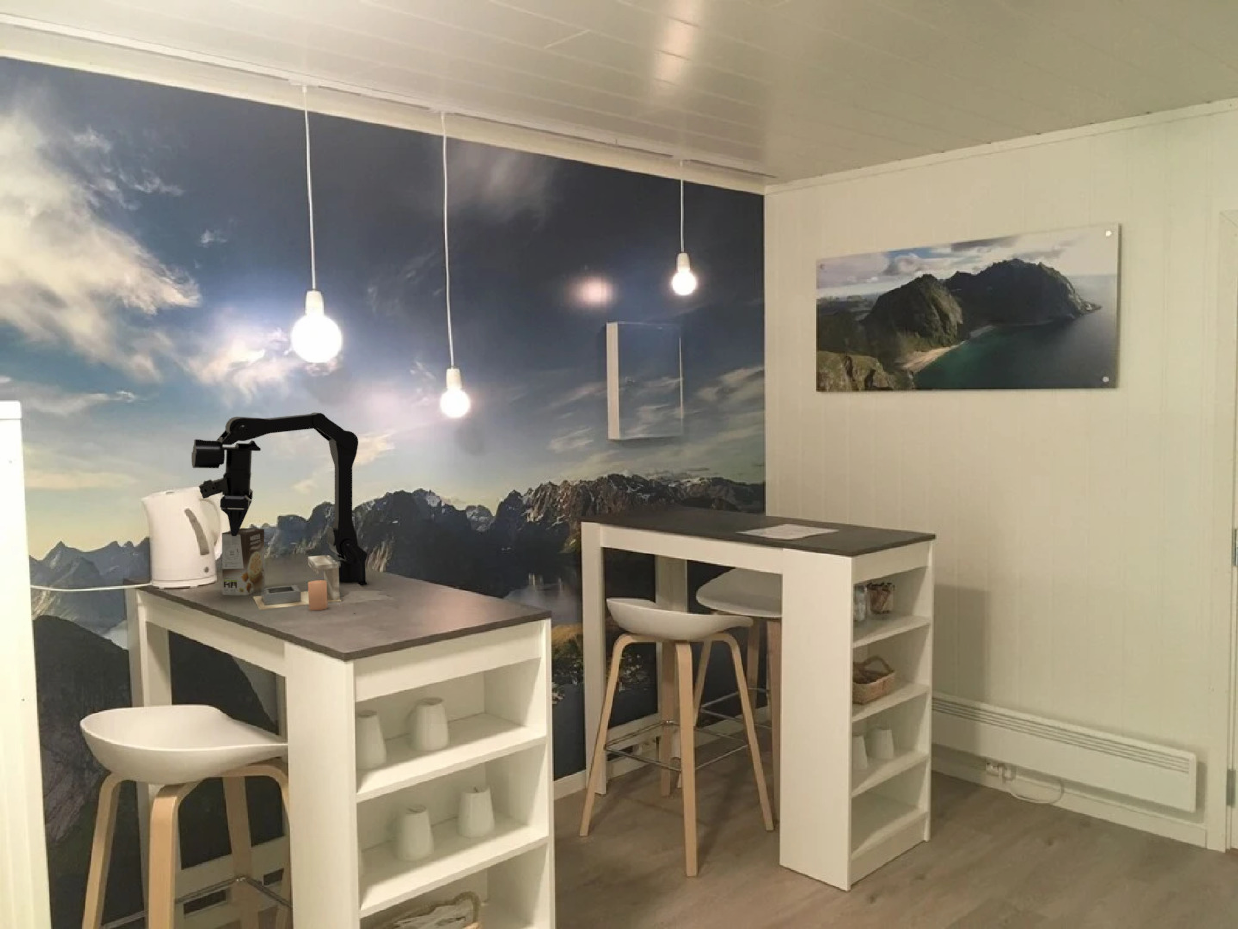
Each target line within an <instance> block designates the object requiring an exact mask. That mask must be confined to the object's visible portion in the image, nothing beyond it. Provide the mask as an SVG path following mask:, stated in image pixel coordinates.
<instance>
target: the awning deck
mask: <svg viewBox="0 0 1238 929" xmlns="http://www.w3.org/2000/svg"><path fill="white" fill-rule="evenodd" d="M307 565H308V566H309V567H310V569H312V571H313V572H314V573H315V574H316V575H319V570H323V580H324V581H326V582H327V603H335V602H342V600H341V597H340V583H339V567H338V566H339V563H338V561H337V560H336V559H334V558H333V557H332V556H331V555H329V554H326V555H323V554H322V555H315V556H314V555H313V556H307ZM252 598H253V600H254V601H255V604H256V605H257V607H258V609H259V610H260V611H261V610H270V609H278V608H288V607H290V608H291V607H297V606H298V607H299V606H307V605H308V606H309V595H308V590H307V591H305V590H304V591H301V602H294V603H285V604H275V605H266V606H265V604H264V602H263V601H262V599H261V595H256V596H253V597H252Z"/></svg>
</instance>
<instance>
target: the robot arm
mask: <svg viewBox="0 0 1238 929" xmlns="http://www.w3.org/2000/svg"><path fill="white" fill-rule="evenodd" d="M312 429H314V430H315V431H316V432H317V433H318V434H319V435H320V436H321V437H322V438H324V440H326V441H327V442H328V445H329V450H330V452H329V453H330V455H331V458H332V462H333V465H334V519H333V520H334V521H333V523H332V526H330V527H329V526H327V527H326V533H327V538H326V541H325V543H326V544H328V546H329V547H328V548H329V549H330V550H331V551H332V552H333V553H334V554H336V557H337V559H338V561H337V563H338V567H339V584H340V583H341V584H343V583H344V584H345V583H349V584H350V583H353V584H354V583H357V584H358V585H359V586H363V585H364V586H365V585H368V581H367V580H366V579H367V576H366V575H367V574H366V573H367V572H366V570H367V569H366V561H367V558H368V553H367V552H366V551H365V550H364V549H362V547H360V546H359V540H358V537H357V536H358V535H357V531H356V528H355V525H354V523H353V521H354V520H353V465H354V462H355V460H356V457H357V453H358V447H359V438H358V435H357V434H356V433H354V432H352V431H349V430H345V429H344V428H342V427H341V426H339V425H338V424H337V423H335V422H334V421H333V420H330V418H328V417H327V416H326V415H325V414H324V413H321V412H312V413H305V414H299V415H297V414H296V415H285V416H278V417H277V416H276V417H268V418H263V417H249V416H248V417H247V416H234V417H231V418H229V419H228V421H227V422H226V424H225V430H224V431H223V432H222V433H221V434H220V436H219V437H218V438H217V440H209V439H208V440H206V439H205V440H204V439H199V438H198V439H197V438H195V439H194V442H193V447H192V452H191V468H193V469H220V466H222V465H224V464H225V472H224V474H222V477H221V478H217V479H215V480H212V479H211V478H210V479H208V480H204V481H203V483H201V484H199V485H198V489H199V493H200V494H201V497H202V499H208V498H210V497H211V496H215V495H219V494H222V495H221V496H222V497H221V498H220V500H219V508H220V510H221V511H222V512H223V513H225V515H227V519H228V524H229V529H230V530H229V531H231V535H232V536H237V534H238V532H239V529H240V528H241V527H242V525H243V522H244V520H245V519H246V517H247V513H248V511H249V510H250V506H251V504H252V502H253V499H254V498H253V497H254V496H253V494H254V491H253V489H252V488H251V477H252V457H253V456H252V454H253V453H252V452H260V451H261V450H262V449H261V447H260V446H258V444H257V443H256V442H255V440H253V439H257V438H259V437H263V436H265V435H270V434H275V433H276V434H277V433H283V432H295V431H302V430H312ZM249 440H250V441H249ZM246 441H249V442H248V443H247V442H246ZM242 442H243V443H242ZM245 442H246V443H245ZM234 444H235V445H234ZM231 445H234V446H231ZM225 453H226V454H225Z"/></svg>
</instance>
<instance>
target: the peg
mask: <svg viewBox="0 0 1238 929" xmlns="http://www.w3.org/2000/svg"><path fill="white" fill-rule="evenodd" d="M307 591H308V595H309V604H308V609H309V610H310V611H323V610H326V609H328V602H327V582H326V581H324V579H323V580H321V579H319V580H316V579H315V580H311V581H310V580H309V581H308V582H307Z"/></svg>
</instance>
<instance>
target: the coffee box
mask: <svg viewBox="0 0 1238 929" xmlns="http://www.w3.org/2000/svg"><path fill="white" fill-rule="evenodd" d="M221 554H222V555H221V562H222V563H221V566H222V569H221V570H222V571H221V572H222V573H221V574H222V595H223V596H249V595H250V594H253V593H256V592H258V591H261V588H266V584H265V583H266V581H265V580H266V578H265V577H266V575H265V574H266V573H265V571H266V570H265V568H266V566H265V528H256V527H255V528H253V527H252V528H251V527H249V528H247V527H245V528H244V527H242V528H241V527H240V529H239V532H238V534H237V536H232V535H231V530H229V531H226V532H222V533H221Z"/></svg>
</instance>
